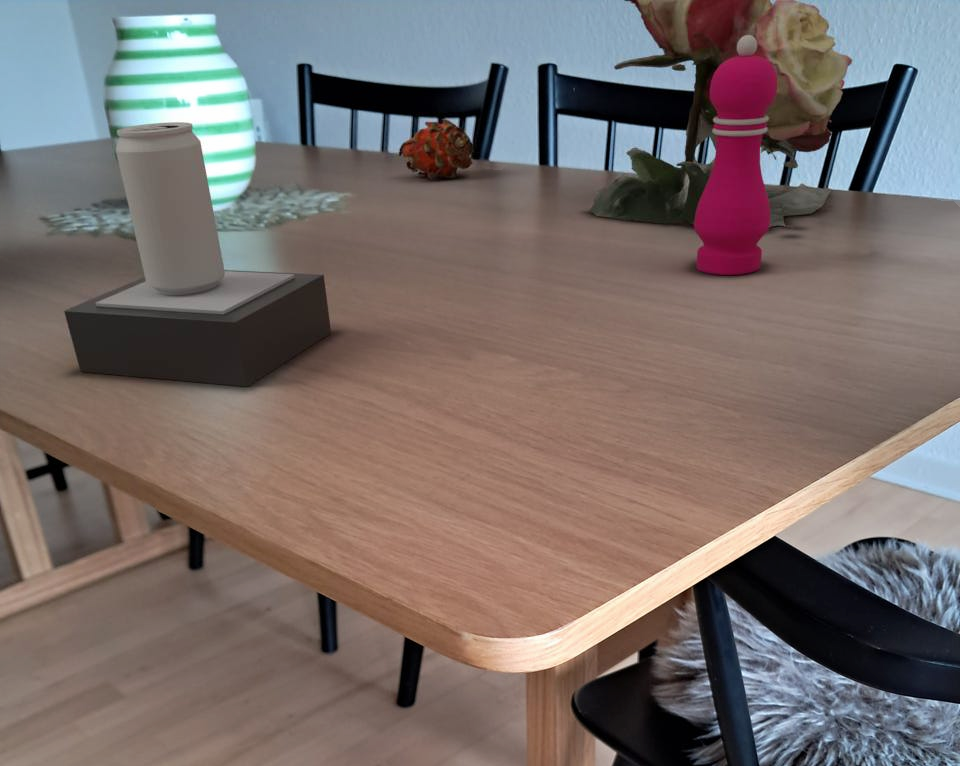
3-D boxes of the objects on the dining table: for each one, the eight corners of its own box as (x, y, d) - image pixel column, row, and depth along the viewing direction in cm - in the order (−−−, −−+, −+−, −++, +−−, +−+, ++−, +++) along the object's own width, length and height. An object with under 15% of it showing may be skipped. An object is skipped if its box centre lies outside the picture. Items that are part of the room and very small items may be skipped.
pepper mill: (727, 280, 97) (748, 38, 86) (676, 267, 102) (689, 37, 91) (780, 267, 100) (807, 32, 89) (728, 255, 105) (747, 31, 94)
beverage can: (241, 284, 83) (213, 122, 77) (173, 302, 80) (136, 133, 73) (201, 273, 87) (170, 118, 80) (133, 289, 83) (96, 128, 77)
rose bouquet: (797, 238, 110) (838, -104, 93) (571, 216, 125) (571, -81, 108) (879, 196, 126) (927, -101, 110) (671, 181, 141) (684, -81, 125)
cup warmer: (68, 370, 83) (50, 305, 80) (168, 322, 94) (155, 263, 91) (247, 386, 78) (235, 317, 75) (331, 333, 89) (323, 270, 86)
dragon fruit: (479, 190, 151) (407, 201, 156) (488, 146, 154) (417, 159, 159) (458, 145, 144) (384, 158, 149) (468, 100, 147) (395, 115, 151)
